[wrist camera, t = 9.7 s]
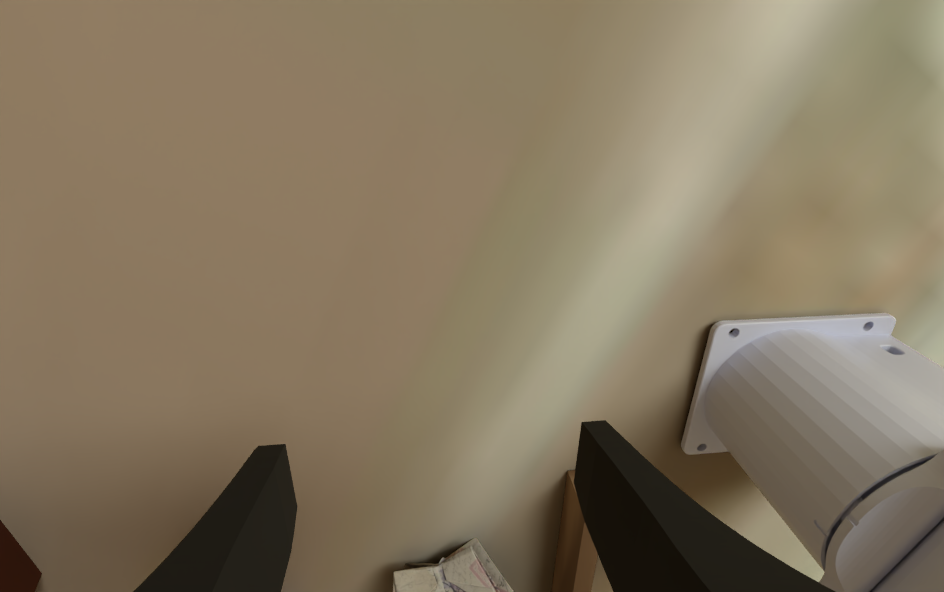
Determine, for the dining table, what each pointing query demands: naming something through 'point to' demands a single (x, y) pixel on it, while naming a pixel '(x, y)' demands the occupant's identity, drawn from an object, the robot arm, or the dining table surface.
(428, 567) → the origami crane
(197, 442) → the dining table surface
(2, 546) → the bucket
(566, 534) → the walnut u-shaped block
